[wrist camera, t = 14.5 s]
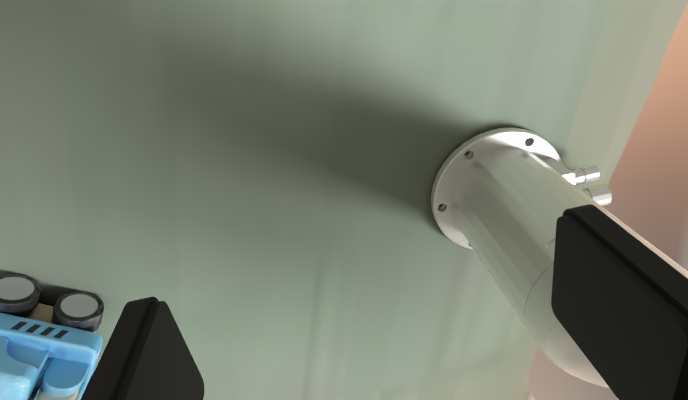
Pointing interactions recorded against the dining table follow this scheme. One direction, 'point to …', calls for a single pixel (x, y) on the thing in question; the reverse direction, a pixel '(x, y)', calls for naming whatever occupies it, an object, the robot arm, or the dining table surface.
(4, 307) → the toy excavator
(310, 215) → the dining table surface
